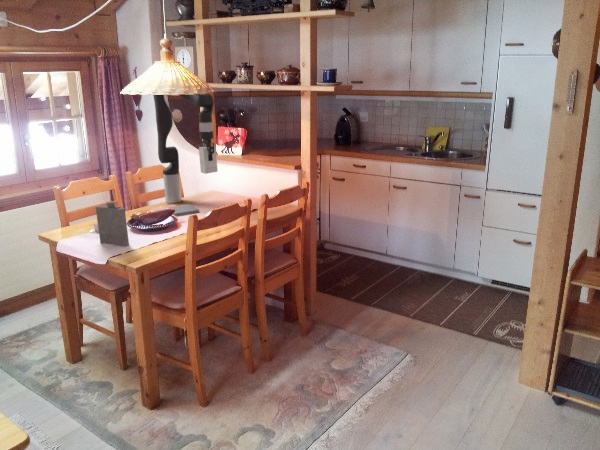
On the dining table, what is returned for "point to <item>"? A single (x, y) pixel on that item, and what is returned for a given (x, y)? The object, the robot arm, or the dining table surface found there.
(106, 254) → the dining table surface
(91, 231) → the teacup and saucer
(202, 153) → the skincare box
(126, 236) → the hip flask
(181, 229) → the dining table surface
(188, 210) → the slate board
